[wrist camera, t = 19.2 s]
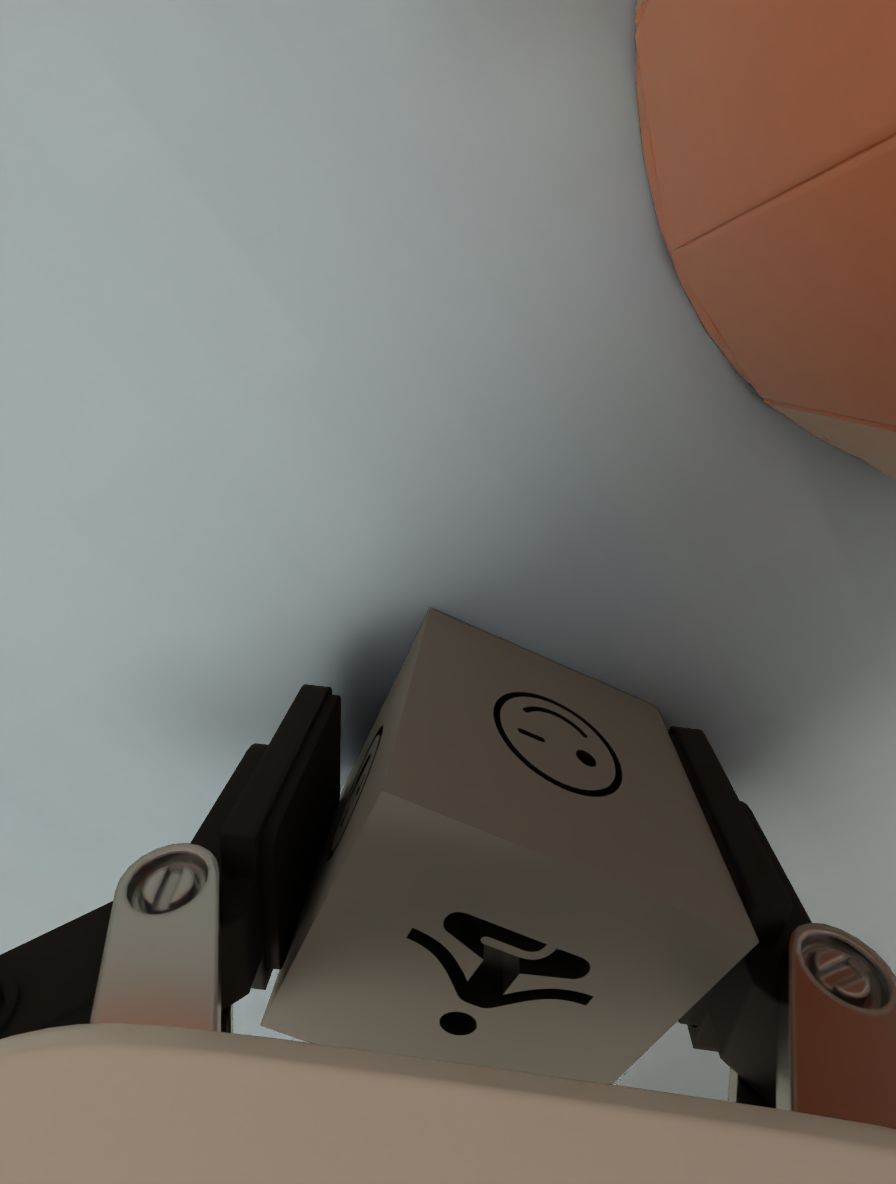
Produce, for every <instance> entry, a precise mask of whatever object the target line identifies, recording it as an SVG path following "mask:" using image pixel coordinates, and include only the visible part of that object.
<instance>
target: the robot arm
mask: <svg viewBox="0 0 896 1184" xmlns="http://www.w3.org/2000/svg"><path fill="white" fill-rule="evenodd" d="M668 734H669V736H670V738H671V740H672V743H673V745H674V747H675V750H676V752H677V754H678V757H679V759H680V761H681V763H682V766H683V768H684V770H685V773H686V775H687V777H688V779H689V782H690V784H691V786H692V789H693V791H694V793H695V796H696V798H697V800H698V802H699V805H700V807H701V809H702V812H703V814H704V816H705V819H706V821H707V823H708V825H709V828H710V830H711V832H712V835H713V837H714V839H715V842H716V844H717V846H718V848H719V851H720V853H721V855H722V858H723V860H724V862H725V865H726V867H727V869H728V871H729V874H730V876H731V878H732V881H733V883H734V885H735V887H736V890H737V892H738V894H739V897H740V899H741V901H742V904H743V906H744V908H745V910H746V913H747V915H748V917H749V920H750V922H751V924H752V927H753V929H754V931H755V933H756V936H757V938H758V940H759V943H758V944H757V945H756V946H755V947H754V948H753V949H752V950H750V951H749V952H748V953H747V954H746V955H745V956H744V957H743V958H742V959H741V960H740V961H739V962H738V963H737V964H736V965H735V966H734V967H733V968H732V969H731V970H730V971H729V972H728V973H727V974H726V975H725V976H724V977H723V978H721V979H720V980H719V981H718V982H717V983H716V984H715V985H714V986H713V987H712V988H711V989H710V990H709V991H708V992H707V993H706V994H705V995H704V996H703V997H702V998H701V999H700V1000H699V1001H698V1002H697V1003H696V1004H695V1005H694V1006H692V1007H691V1008H690V1009H689V1010H688V1011H687V1012H686V1013H685V1014H684V1015H683V1016H682V1017H681V1018H680V1019H679V1020H678V1021H679V1022H680V1023H681V1024H687V1026H688V1030H689V1033H690V1037H691V1041H692V1044H693V1048H695V1049H702V1050H710V1051H717V1052H719V1055H720V1058H721V1059H722V1060H723V1061H724V1062H725V1063H726V1064H727V1065H728V1066H730V1075H729V1088H728V1101H721V1100H714V1099H707V1098H700V1097H693V1096H686V1095H680V1094H673V1093H666V1092H659V1091H652V1090H645V1089H638V1088H632V1087H625V1086H618V1085H611V1084H604V1083H597V1082H590V1081H583V1080H575V1079H568V1078H561V1077H554V1076H547V1075H540V1074H533V1073H526V1072H519V1071H511V1070H504V1069H497V1068H490V1067H483V1066H475V1065H468V1064H461V1063H454V1062H447V1061H439V1060H432V1059H425V1058H418V1057H410V1056H403V1055H395V1054H388V1053H380V1052H373V1051H365V1050H358V1049H350V1048H343V1047H335V1046H328V1045H320V1044H313V1043H306V1042H298V1041H291V1040H283V1039H276V1038H268V1037H260V1036H251V1035H242V1034H233V1003H235V1002H236V1001H238V1000H239V999H241V998H243V997H244V996H246V995H247V994H249V992H250V989H251V988H255V989H263V990H266V987H267V984H268V981H269V979H270V976H271V973H272V970H273V969H280V970H281V969H282V966H283V963H284V960H285V957H286V954H287V951H288V949H289V946H290V943H291V940H292V937H293V934H294V931H295V928H296V926H297V923H298V920H299V917H300V914H301V911H302V908H303V905H304V902H305V900H306V897H307V894H308V891H309V888H310V885H311V882H312V879H313V877H314V874H315V871H316V868H317V865H318V862H319V859H320V856H321V853H322V851H323V848H324V845H325V842H326V839H327V836H328V833H329V830H330V828H331V825H332V822H333V819H334V816H335V813H336V810H337V807H338V804H339V800H340V740H341V698H340V696H339V695H332V689H331V687H324V686H315V685H306V684H305V685H303V686H302V687H301V689H300V691H299V693H298V694H297V696H296V698H295V700H294V701H293V703H292V705H291V707H290V708H289V710H288V712H287V714H286V716H285V717H284V719H283V721H282V723H281V724H280V726H279V728H278V730H277V731H276V733H275V735H274V737H273V738H272V740H271V742H270V744H269V745H265V744H256V743H255V744H253V745H251V746H250V748H249V749H248V750H247V752H246V753H245V755H244V757H243V758H242V760H241V762H240V763H239V765H238V767H237V768H236V770H235V771H234V773H233V775H232V776H231V778H230V780H229V781H228V783H227V784H226V786H225V788H224V789H223V791H222V793H221V794H220V796H219V798H218V799H217V801H216V802H215V804H214V806H213V807H212V809H211V811H210V812H209V814H208V815H207V817H206V819H205V820H204V822H203V824H202V825H201V827H200V828H199V830H198V832H197V833H196V835H195V837H194V838H193V840H192V841H191V843H190V844H189V843H182V844H171V845H168V846H164V847H161V848H158V849H155V850H154V851H152V852H150V853H148V854H146V855H144V856H142V857H141V858H140V859H138V860H137V861H136V862H135V863H133V864H132V865H131V866H130V867H129V868H128V869H127V871H126V872H125V873H124V874H123V876H122V877H121V878H120V880H119V883H118V885H117V888H116V891H115V895H114V900H113V901H112V902H110V903H108V904H106V905H104V906H102V907H100V908H98V909H96V910H93V911H91V912H89V913H87V914H85V915H83V916H81V917H79V918H77V919H75V920H73V921H70V922H68V923H66V924H64V925H62V926H60V927H58V928H56V929H54V930H52V931H50V932H47V933H45V934H43V935H41V936H39V937H37V938H35V939H33V940H31V941H29V942H27V943H24V944H22V945H20V946H18V947H16V948H14V949H12V950H10V951H8V952H6V953H4V954H1V955H0V1184H896V976H895V975H894V973H893V972H892V971H891V969H890V968H889V966H888V965H887V964H886V963H885V962H884V960H883V959H882V958H881V957H880V956H879V955H878V954H877V953H876V952H875V951H874V950H873V949H871V948H870V947H868V946H867V945H866V944H864V943H863V942H862V941H860V940H859V939H858V938H856V937H854V936H852V935H851V934H849V933H847V932H845V931H843V930H841V929H839V928H835V927H832V926H829V925H826V924H819V923H812V922H811V920H810V919H809V917H808V915H807V913H806V911H805V909H804V907H803V906H802V904H801V902H800V900H799V898H798V896H797V894H796V893H795V891H794V889H793V887H792V885H791V883H790V881H789V880H788V878H787V876H786V874H785V872H784V870H783V868H782V867H781V865H780V863H779V861H778V859H777V857H776V855H775V854H774V852H773V850H772V848H771V846H770V844H769V842H768V841H767V839H766V837H765V835H764V833H763V831H762V829H761V828H760V826H759V824H758V822H757V820H756V818H755V816H754V815H753V813H752V811H751V810H750V808H749V807H748V805H747V804H745V803H744V802H742V801H739V799H738V797H737V795H736V793H735V791H734V789H733V787H732V785H731V784H730V782H729V780H728V778H727V776H726V774H725V772H724V770H723V768H722V766H721V765H720V763H719V761H718V759H717V757H716V755H715V753H714V751H713V749H712V747H711V745H710V744H709V742H708V740H707V738H706V736H705V734H704V733H703V731H702V730H699V729H691V728H682V727H670V729H669V730H668Z"/></svg>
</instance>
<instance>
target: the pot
mask: <svg viewBox="0 0 896 1184" xmlns="http://www.w3.org/2000/svg"><path fill="white" fill-rule="evenodd" d="M635 24H636V31H635V37H636V90H637V100H638V109H639V119H640V129H641V138H642V148H643V158H644V162H645V167H646V171H647V175H648V180H649V184H650V189H651V193H652V198H653V202H654V206H655V211H656V215H657V220H658V224H659V227H660V229H661V232H662V235H663V237H664V240H665V243H666V246H667V248H668V251H669V254H670V256H671V259H672V262H673V265H674V267H675V270H676V273H677V275H678V278H679V281H680V283H681V285H682V286H683V288H684V290H685V292H686V294H687V296H688V298H689V299H690V301H691V303H692V305H693V307H694V309H695V311H696V312H697V314H698V316H699V318H700V320H701V322H702V324H703V326H704V327H705V329H706V331H707V332H708V334H709V335H710V336H711V338H712V339H713V340H714V342H715V343H716V344H717V346H718V347H719V348H720V350H721V351H722V352H723V354H724V355H725V356H726V358H727V359H728V360H729V362H730V363H731V364H732V366H733V367H734V368H735V370H736V371H737V372H738V374H740V375H741V376H742V377H743V378H744V379H745V380H746V381H747V382H748V383H749V384H750V385H751V386H752V387H753V388H754V389H755V390H756V391H757V392H758V394H759V395H760V397H761V398H763V399H764V402H765V403H766V404H768V405H769V406H771V407H773V408H775V409H776V410H777V411H779V412H780V413H782V414H783V415H785V416H786V417H787V418H789V419H790V420H792V421H793V422H795V423H796V424H797V425H799V426H800V427H802V428H803V429H805V430H806V431H807V432H809V433H810V434H812V435H813V436H815V437H816V438H818V439H820V440H822V441H824V442H827V443H829V444H831V445H833V446H835V447H837V448H839V449H841V450H843V451H845V452H847V453H849V454H851V455H853V456H855V457H857V458H859V459H861V460H863V461H865V462H866V463H868V464H870V465H872V466H873V467H875V468H877V469H878V470H880V471H882V472H884V473H885V474H887V475H889V476H890V477H892V478H894V479H895V480H896V0H637V1H636V13H635Z"/></svg>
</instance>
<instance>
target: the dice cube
mask: <svg viewBox="0 0 896 1184" xmlns="http://www.w3.org/2000/svg"><path fill="white" fill-rule="evenodd" d="M758 943H759V940H758V938H757V936H756V933H755V931H754V929H753V927H752V924H751V922H750V920H749V917H748V915H747V913H746V910H745V908H744V906H743V904H742V901H741V899H740V897H739V894H738V892H737V890H736V887H735V885H734V883H733V881H732V878H731V876H730V874H729V871H728V869H727V867H726V865H725V862H724V860H723V858H722V855H721V853H720V851H719V848H718V846H717V844H716V842H715V839H714V837H713V835H712V832H711V830H710V828H709V825H708V823H707V821H706V819H705V816H704V814H703V812H702V809H701V807H700V805H699V802H698V800H697V798H696V796H695V793H694V791H693V789H692V786H691V784H690V782H689V779H688V777H687V775H686V773H685V770H684V768H683V766H682V763H681V761H680V759H679V757H678V754H677V752H676V750H675V747H674V745H673V743H672V740H671V738H670V736H669V734H668V731H667V729H666V727H665V724H664V722H663V720H662V717H661V715H660V713H659V711H658V708H657V707H656V706H654V705H651V704H649V703H647V702H644V701H642V700H640V699H637V698H635V697H633V696H631V695H628V694H626V693H624V692H621V691H619V690H617V689H615V688H612V687H610V686H608V685H605V684H603V683H601V682H599V681H596V680H594V679H592V678H589V677H587V676H585V675H582V674H580V673H578V672H576V671H573V670H571V669H569V668H566V667H564V666H562V665H560V664H557V663H555V662H553V661H550V660H548V659H546V658H544V657H541V656H539V655H537V654H534V653H532V652H530V651H527V650H525V649H523V648H521V647H518V646H516V645H514V644H511V643H509V642H507V641H505V640H502V639H500V638H498V637H495V636H493V635H491V634H489V633H486V632H484V631H482V630H479V629H477V628H475V627H473V626H470V625H468V624H466V623H463V622H461V621H459V620H456V619H454V618H452V617H450V616H447V615H445V614H443V613H440V612H438V611H436V610H434V609H431V608H429V610H428V612H427V615H426V617H425V619H424V621H423V623H422V625H421V627H420V629H419V631H418V633H417V635H416V637H415V640H414V642H413V644H412V646H411V648H410V650H409V652H408V654H407V656H406V658H405V660H404V662H403V665H402V667H401V669H400V671H399V673H398V675H397V677H396V679H395V681H394V683H393V685H392V687H391V690H390V692H389V694H388V696H387V698H386V700H385V702H384V704H383V706H382V708H381V710H380V713H379V715H378V717H377V719H376V721H375V723H374V725H373V727H372V729H371V731H370V733H369V735H368V738H367V740H366V742H365V744H364V746H363V748H362V750H361V752H360V754H359V756H358V758H357V760H356V763H355V765H354V767H353V769H352V771H351V773H350V775H349V777H348V779H347V781H346V783H345V785H344V788H343V790H342V793H341V796H340V800H339V804H338V807H337V810H336V813H335V816H334V819H333V822H332V825H331V828H330V830H329V833H328V836H327V839H326V842H325V845H324V848H323V851H322V853H321V856H320V859H319V862H318V865H317V868H316V871H315V874H314V877H313V879H312V882H311V885H310V888H309V891H308V894H307V897H306V900H305V902H304V905H303V908H302V911H301V914H300V917H299V920H298V923H297V926H296V928H295V931H294V934H293V937H292V940H291V943H290V946H289V949H288V951H287V954H286V957H285V960H284V963H283V966H282V969H281V970H280V971H279V973H278V976H277V979H276V982H275V985H274V988H273V991H272V993H271V996H270V999H269V1002H268V1005H267V1008H266V1011H265V1013H264V1016H263V1019H262V1022H261V1026H263V1027H266V1028H269V1029H272V1030H275V1031H278V1032H280V1033H283V1034H286V1035H289V1036H292V1037H295V1038H297V1039H300V1040H303V1041H306V1042H309V1043H313V1044H320V1045H328V1046H335V1047H343V1048H350V1049H358V1050H365V1051H373V1052H380V1053H388V1054H395V1055H403V1056H410V1057H418V1058H425V1059H432V1060H439V1061H447V1062H454V1063H461V1064H468V1065H475V1066H483V1067H490V1068H497V1069H504V1070H511V1071H519V1072H526V1073H533V1074H540V1075H547V1076H554V1077H561V1078H568V1079H575V1080H583V1081H590V1082H597V1083H604V1084H611V1085H612V1084H613V1083H614V1082H615V1081H616V1080H617V1079H618V1078H619V1077H620V1076H621V1075H622V1074H623V1073H624V1072H625V1071H626V1070H627V1069H628V1068H629V1067H630V1066H631V1065H632V1064H633V1063H634V1062H635V1061H637V1060H638V1059H639V1058H640V1057H641V1056H642V1055H643V1054H644V1053H645V1052H646V1051H647V1050H648V1049H649V1048H650V1047H651V1046H652V1045H653V1044H654V1043H655V1042H656V1041H657V1040H658V1039H659V1038H660V1037H661V1036H662V1035H663V1034H665V1033H666V1032H667V1031H668V1030H669V1029H670V1028H671V1027H672V1026H673V1025H674V1024H675V1023H676V1022H677V1021H678V1020H679V1019H680V1018H681V1017H682V1016H683V1015H684V1014H685V1013H686V1012H687V1011H688V1010H689V1009H690V1008H691V1007H692V1006H694V1005H695V1004H696V1003H697V1002H698V1001H699V1000H700V999H701V998H702V997H703V996H704V995H705V994H706V993H707V992H708V991H709V990H710V989H711V988H712V987H713V986H714V985H715V984H716V983H717V982H718V981H719V980H720V979H721V978H723V977H724V976H725V975H726V974H727V973H728V972H729V971H730V970H731V969H732V968H733V967H734V966H735V965H736V964H737V963H738V962H739V961H740V960H741V959H742V958H743V957H744V956H745V955H746V954H747V953H748V952H749V951H750V950H752V949H753V948H754V947H755V946H756V945H757V944H758Z"/></svg>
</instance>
